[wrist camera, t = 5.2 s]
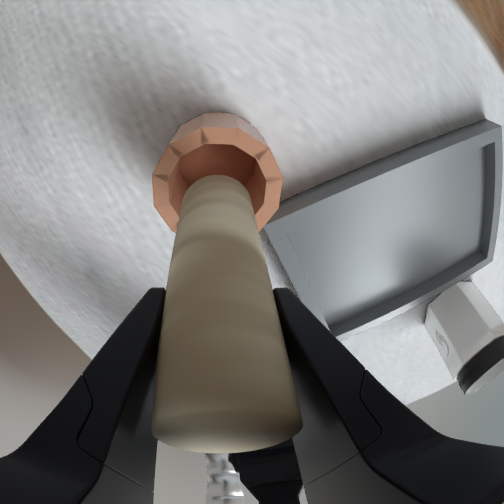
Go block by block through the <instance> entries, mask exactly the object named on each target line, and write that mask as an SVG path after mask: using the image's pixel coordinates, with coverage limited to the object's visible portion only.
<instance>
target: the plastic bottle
mask: <svg viewBox="0 0 504 504" xmlns="http://www.w3.org/2000/svg"><path fill="white" fill-rule="evenodd" d="M205 460H206V466H207V475H208V476H207V494H206V497H207V498H206V504H245V498H244V495H243V491H242V488H241V484H240V480H239V476H238V473H236V472H235V469H234V467H233V465H232V464H231V463H230V462H228V453H205Z"/></svg>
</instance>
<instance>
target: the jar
mask: <svg viewBox="0 0 504 504" xmlns="http://www.w3.org/2000/svg"><path fill="white" fill-rule="evenodd" d="M424 326H425V328H426V330H427V332H428V333H429V335H430V337H431V338H432V340H433V342H434V344H435V346H436V347H437V349H438V351H439V353H440V355H441V357H442V358H443V360H444V362H445V364H446V366H447V368H448V370H449V372H450V374H451V376H452V378H453V380H458V381H459V385H460V387H461V389H462V390H463V392H464V394H465V395H469V394H472V393H474V392H476V391H477V390H479V389H481V388H482V387H484V386H485V385H487V384H488V383H490V382H491V381H492V380H493V379H495V378H496V377H497V376H498V375H499V374H500V373H501V372H502V371H504V323H503V321H502V320H501V318H500V317H499V316H498V314H497V313H496V311H495V310H494V309H493V307H492V306H491V304H490V303H489V302H488V300H487V299H486V298H485V297H484V295H483V294H482V293H481V291H480V290H479V289H478V287H477V286H476V285H475V284H474V282H458V283H457V284H455V285H453V286H452V287H450V288H448V289H446V290H445V291H443V292H442V293H441V294H440V295H439V296H438V297H436V298H435V299H434V300H433V301H432V302H431V303H430V304H429V305H428V308H427V314H426V319H425V324H424Z"/></svg>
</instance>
